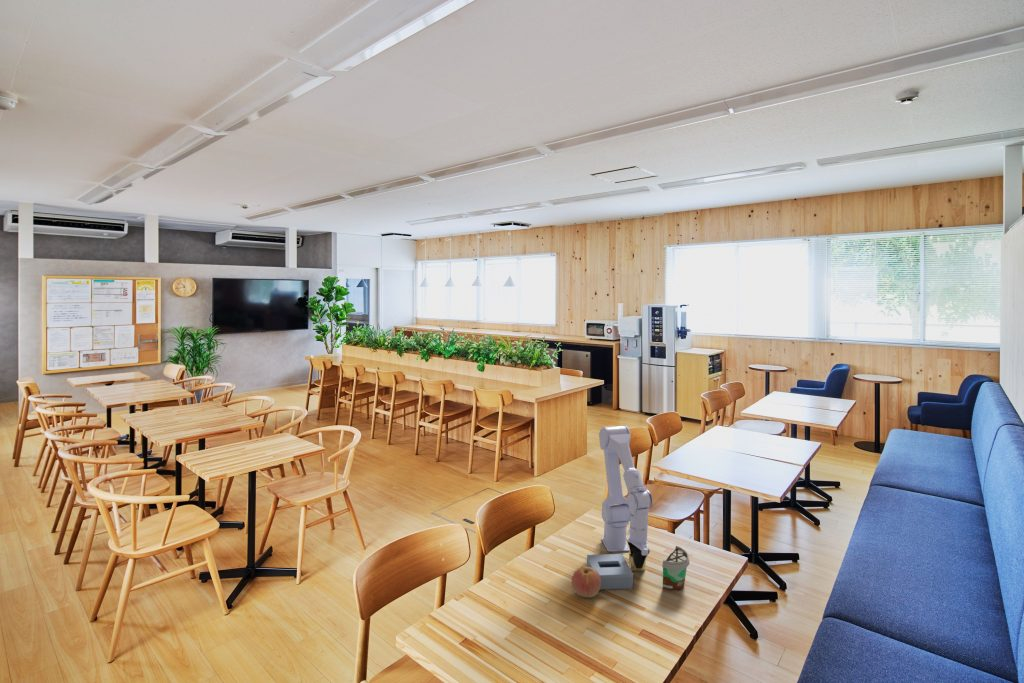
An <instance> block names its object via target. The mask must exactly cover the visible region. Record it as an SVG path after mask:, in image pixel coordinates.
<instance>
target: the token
mask: <svg viewBox="0 0 1024 683" xmlns="http://www.w3.org/2000/svg"><path fill="white" fill-rule="evenodd" d="M646 559H647V558H646ZM646 559H645V561H644V564H643V567H642V568H636V566H635V558H634V554H631V553H629V555H628V566H629V567H630V569H631V571H632V572H636V571H646Z"/></svg>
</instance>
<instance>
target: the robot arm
mask: <svg viewBox="0 0 1024 683" xmlns="http://www.w3.org/2000/svg"><path fill="white" fill-rule="evenodd" d="M631 436H632V435H631V430H630V428H629V427H628V426H627V425H626V424H625V425H618V426H617V425H616V426H601V429H600V430H599V433H598V438H599V440H598V441H599V446H600V450H602V451H603V455H604V462H605V463H604V465H605V472H606V484H607V493H608V496H607V497H606V498H605V499H604V500H602V502H601V518H602V520H603V522H604V526H603V527H604V528H603V529H604V530H603V537H601V538H600V539H601V541H602V543H603V545H604V548H605V549H606V551H607V552H608V553H611V552H614V553H615V552H616V553H617V552H629V554H634V558H635V566H636V568H642V567H643V564H644V561H645V559H647V557H648V556H649V554H650V549H649V548H648V543H649V542H648V541H649V540H648V525H649V508H651V507H652V506H653V496H652V494H651V492H650V491H649V489H648V487H647V486H645V484H644V481H643V479H642V475H641V472H640V470H639V469H637V468H636V467H635V463H634V461H633V460H634V459H633V455H632V452H631V448H630V443H631V439H632V438H631ZM620 463H621V466H622V468H623V471H624V472H623V474H622V476H621V469H620ZM621 477H622V478H623V480H624V483H625V486H626V489H627V493H628V495H627V498H626V497H625V496H624V495H623V487H622V478H621ZM628 525H629V528H628V537H627V526H628ZM645 562H646V561H645Z"/></svg>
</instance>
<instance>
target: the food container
mask: <svg viewBox="0 0 1024 683" xmlns="http://www.w3.org/2000/svg"><path fill="white" fill-rule="evenodd" d="M689 564H690V557H689V555H688V552H687V551H686V550H685V549H683V548H682V547H680V546H677V545H675V549H674V550H673V552H671V553H670V554H669V555H668V557H667V558H666V559H665V560H664V559H663V560H662V565H661V567H662V589H663V590H665V591H671V592H672V591H673V592H677V591H681V590H683V589H684V587H685V581H686V576H687V575H686V574H687V568H688V566H689Z"/></svg>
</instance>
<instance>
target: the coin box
mask: <svg viewBox="0 0 1024 683" xmlns="http://www.w3.org/2000/svg"><path fill="white" fill-rule="evenodd" d="M586 567H591V568H593V569H595V570H596V571H597V572H598V573H599V575H600V579H601V586H600V589H599V591H611V590H614V591H617V590H633V585H634V584H633V583H634V573H633V571H631V569H630V567H629V563H628V562H627V560H626V558H625V556H624V555H623V554H622V553H609V554H605V553H604V554H587V555H586Z"/></svg>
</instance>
